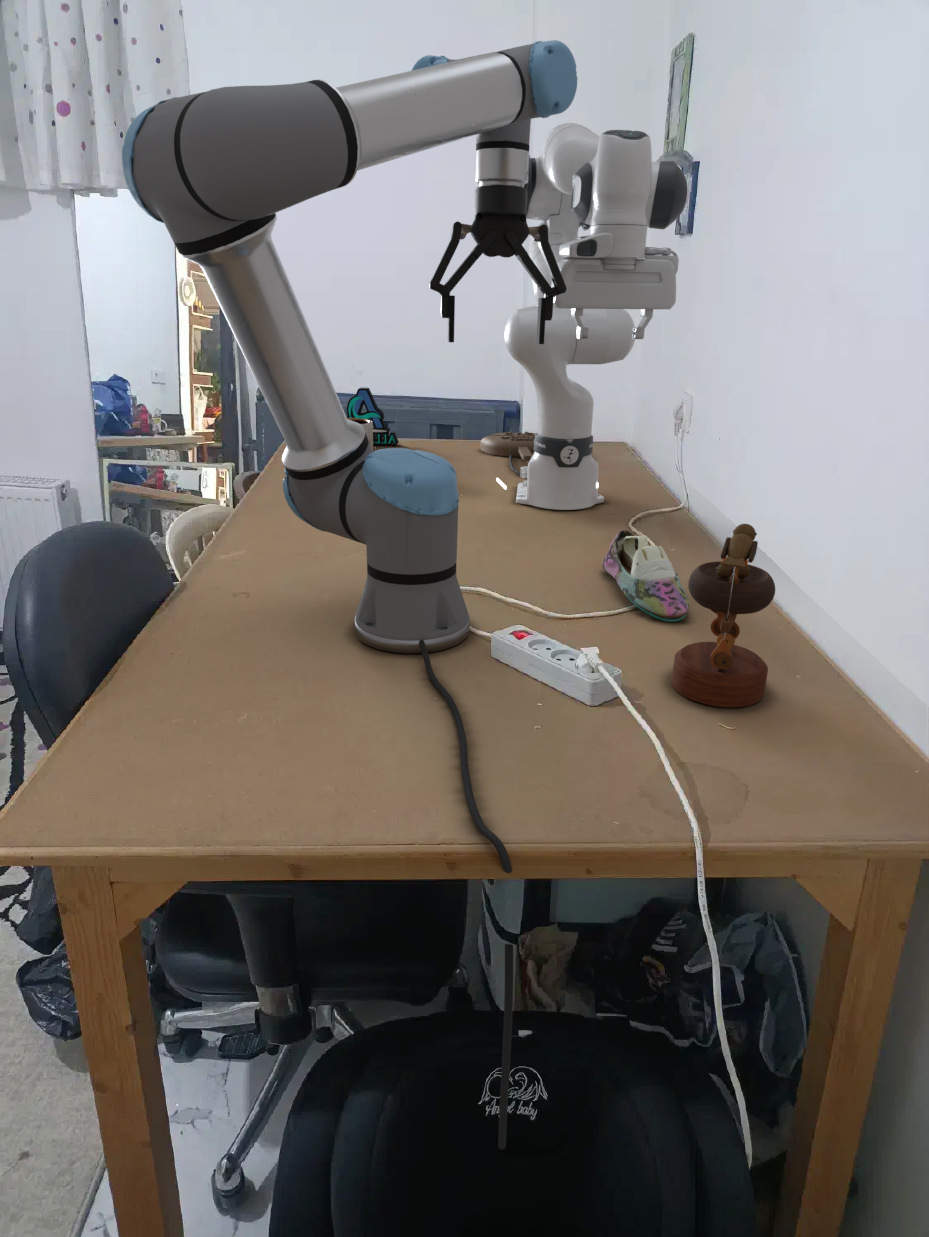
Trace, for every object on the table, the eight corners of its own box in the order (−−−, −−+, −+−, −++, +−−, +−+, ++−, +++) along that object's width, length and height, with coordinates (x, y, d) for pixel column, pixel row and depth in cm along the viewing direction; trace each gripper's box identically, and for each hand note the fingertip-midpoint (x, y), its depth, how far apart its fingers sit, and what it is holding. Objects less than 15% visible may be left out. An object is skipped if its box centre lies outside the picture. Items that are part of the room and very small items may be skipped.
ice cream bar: (485, 466, 209) (486, 449, 208) (478, 444, 235) (479, 429, 234) (570, 466, 210) (571, 449, 209) (554, 445, 236) (554, 430, 235)
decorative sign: (398, 443, 235) (398, 388, 229) (397, 445, 232) (396, 389, 227) (331, 441, 236) (328, 386, 230) (329, 443, 233) (326, 387, 228)
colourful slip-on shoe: (641, 626, 116) (647, 566, 113) (589, 569, 138) (593, 517, 135) (698, 623, 117) (706, 564, 114) (638, 567, 139) (644, 516, 136)
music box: (782, 717, 92) (796, 541, 85) (678, 718, 94) (683, 545, 86) (753, 658, 106) (763, 503, 99) (664, 660, 108) (667, 506, 100)
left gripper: (582, 192, 125) (571, 342, 133) (413, 185, 123) (412, 339, 130) (593, 186, 118) (581, 346, 126) (414, 180, 116) (413, 342, 123)
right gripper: (672, 248, 137) (663, 337, 143) (549, 245, 134) (545, 337, 139) (687, 247, 132) (677, 340, 137) (560, 244, 128) (555, 340, 134)
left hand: (495, 343), depth 128 cm, fingers open, 13 cm apart
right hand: (610, 339), depth 138 cm, fingers open, 8 cm apart
